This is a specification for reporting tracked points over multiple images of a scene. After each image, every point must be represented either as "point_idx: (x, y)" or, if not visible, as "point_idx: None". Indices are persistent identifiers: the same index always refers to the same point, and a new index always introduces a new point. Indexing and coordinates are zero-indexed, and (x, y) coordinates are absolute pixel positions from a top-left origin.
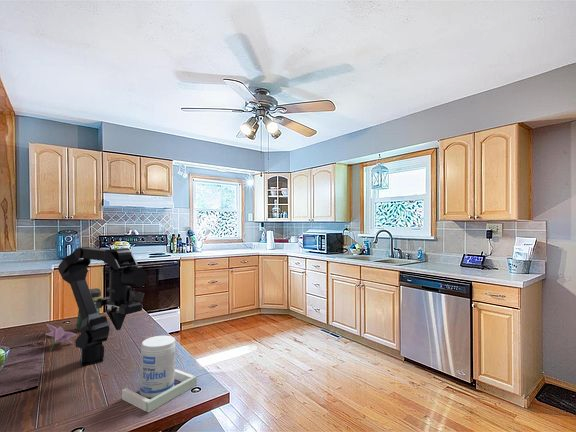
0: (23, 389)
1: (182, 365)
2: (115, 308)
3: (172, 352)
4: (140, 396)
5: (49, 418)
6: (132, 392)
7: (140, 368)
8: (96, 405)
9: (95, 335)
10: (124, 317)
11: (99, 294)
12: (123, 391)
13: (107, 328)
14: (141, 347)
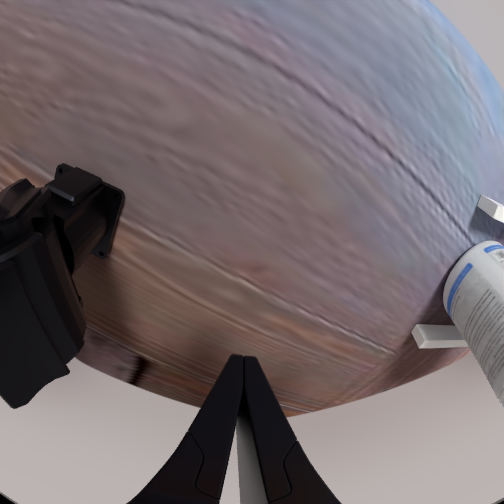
0: (132, 369)
1: (486, 117)
2: None
3: None
4: (465, 342)
5: (309, 401)
6: (446, 342)
7: (475, 357)
8: (369, 362)
9: (76, 330)
10: (314, 473)
11: None
12: (423, 347)
13: (30, 264)
14: (501, 402)
